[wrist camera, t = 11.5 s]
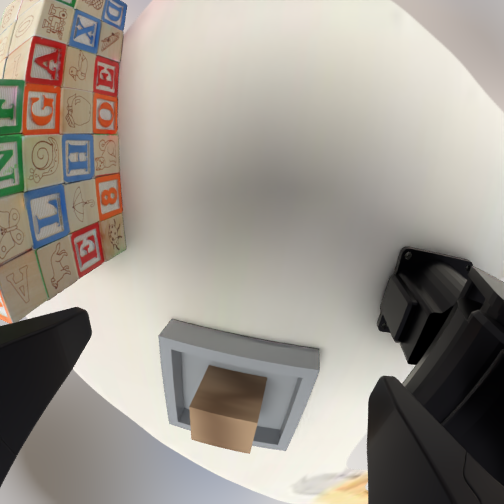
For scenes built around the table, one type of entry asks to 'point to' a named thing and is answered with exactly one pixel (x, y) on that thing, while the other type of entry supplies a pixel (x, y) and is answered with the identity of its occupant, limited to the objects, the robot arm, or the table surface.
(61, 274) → the stack of blocks
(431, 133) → the table surface
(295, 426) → the grey tray
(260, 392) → the walnut cube
